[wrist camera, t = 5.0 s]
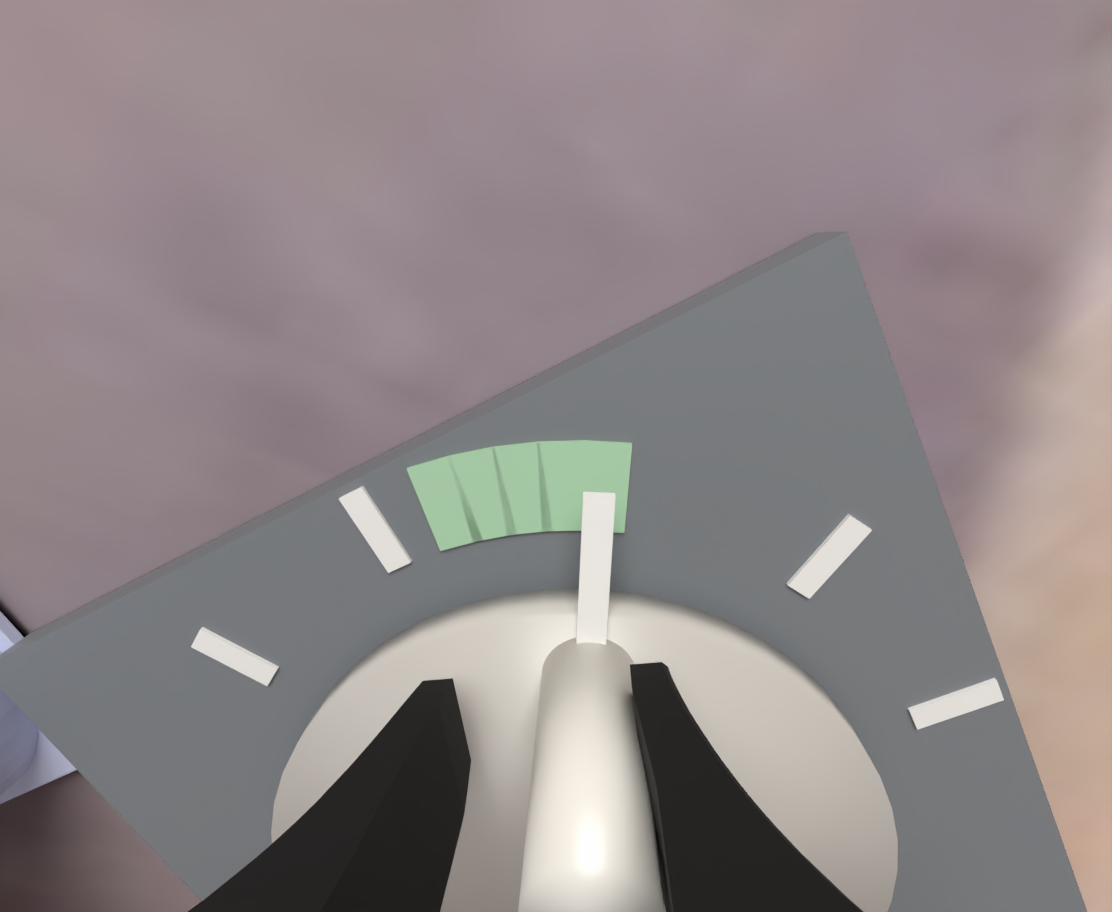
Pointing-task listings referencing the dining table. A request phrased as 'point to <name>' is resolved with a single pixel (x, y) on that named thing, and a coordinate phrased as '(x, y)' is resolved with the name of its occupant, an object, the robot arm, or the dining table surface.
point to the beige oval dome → (603, 742)
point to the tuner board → (554, 564)
